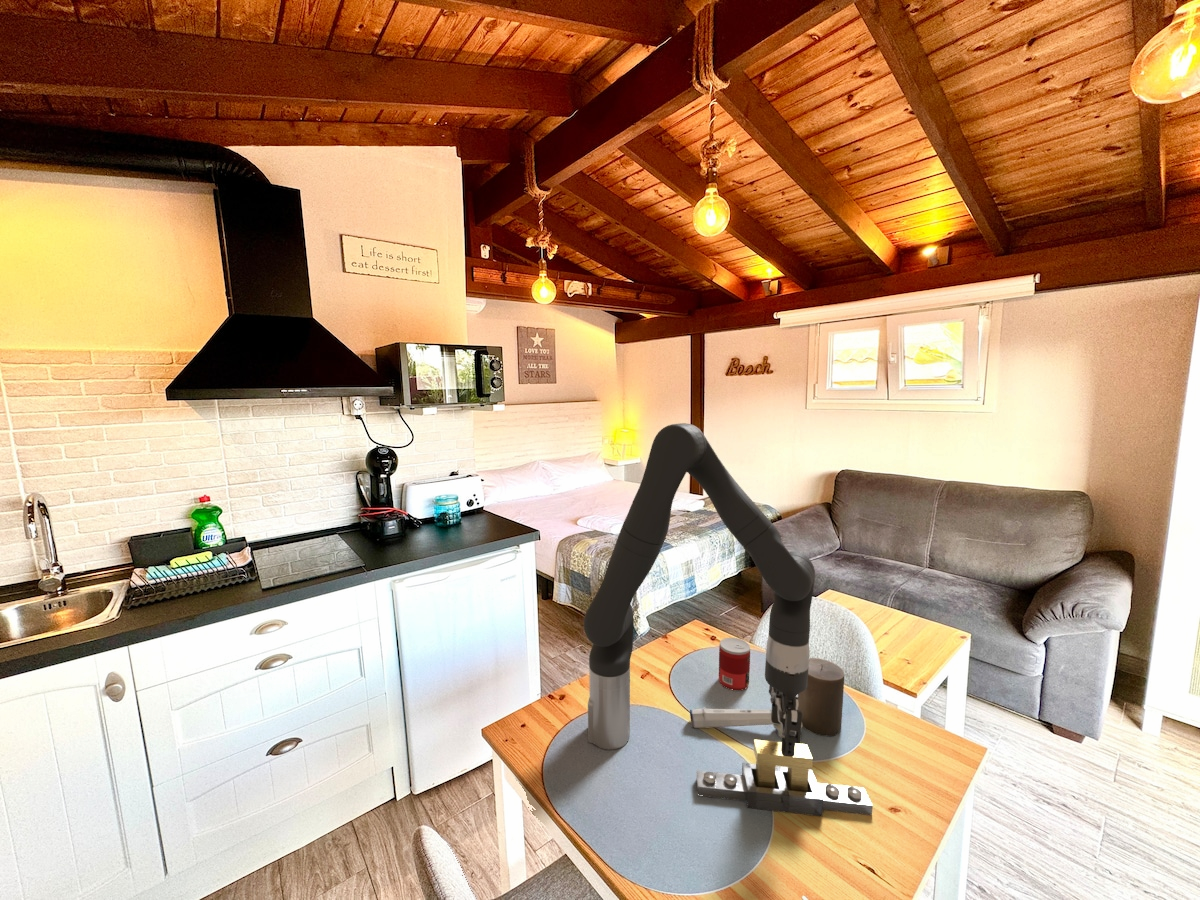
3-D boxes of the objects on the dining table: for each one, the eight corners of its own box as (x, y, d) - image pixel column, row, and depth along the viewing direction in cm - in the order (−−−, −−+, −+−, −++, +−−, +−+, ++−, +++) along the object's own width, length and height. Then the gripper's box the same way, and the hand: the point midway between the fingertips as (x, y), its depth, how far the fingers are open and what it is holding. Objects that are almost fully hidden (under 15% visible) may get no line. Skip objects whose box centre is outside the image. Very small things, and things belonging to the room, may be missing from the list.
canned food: (752, 691, 124) (754, 652, 123) (722, 691, 124) (723, 652, 123) (744, 674, 132) (745, 637, 131) (715, 674, 132) (716, 637, 131)
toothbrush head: (689, 703, 114) (796, 697, 111) (692, 728, 115) (799, 724, 111) (690, 718, 109) (803, 713, 106) (693, 744, 110) (805, 740, 106)
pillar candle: (836, 743, 106) (840, 680, 104) (791, 724, 112) (794, 665, 110) (844, 719, 114) (849, 661, 112) (802, 703, 120) (805, 647, 118)
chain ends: (698, 802, 91) (698, 786, 91) (696, 773, 98) (696, 758, 98) (875, 822, 87) (876, 805, 86) (860, 790, 94) (861, 774, 93)
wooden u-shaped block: (755, 801, 91) (757, 753, 90) (752, 786, 95) (753, 739, 93) (809, 807, 90) (812, 758, 89) (804, 791, 93) (807, 744, 92)
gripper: (759, 638, 96) (755, 711, 98) (774, 680, 82) (769, 764, 84) (797, 641, 95) (792, 714, 97) (820, 684, 81) (813, 769, 83)
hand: (782, 738), depth 91 cm, fingers open, 8 cm apart
